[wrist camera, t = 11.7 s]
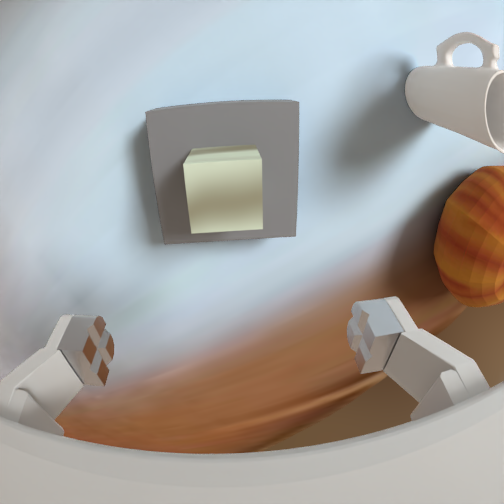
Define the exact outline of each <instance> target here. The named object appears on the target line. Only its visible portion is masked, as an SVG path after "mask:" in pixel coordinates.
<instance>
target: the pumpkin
mask: <svg viewBox="0 0 504 504" xmlns="http://www.w3.org/2000/svg"><path fill="white" fill-rule="evenodd" d="M434 256H435V260H436V263H437V266H438V270H439V273H440V277H441V280H442V281H443V283H444V285H445V287H446V288H447V289H448V290H449V291H450V292H451V294H452V295H453V296H454V297H455V298H456V299H457V300H458V301H459V302H460V303H462V304H464V305H467V306H470V307H485V306H492V305H496V304H499V303H502V302H504V166H484V167H481V168H480V169H478V170H476V171H475V172H474V173H473V174H471V175H470V176H469V177H468V178H467V179H465V180H464V181H463V182H462V183H461V184H460V185H459V186H458V187H457V189H456V190H455V191H454V192H453V193H452V195H451V196H450V197H449V198H448V199H447V200H446V203H445V207H444V209H443V212H442V215H441V218H440V221H439V224H438V229H437V234H436V239H435V244H434Z"/></svg>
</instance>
